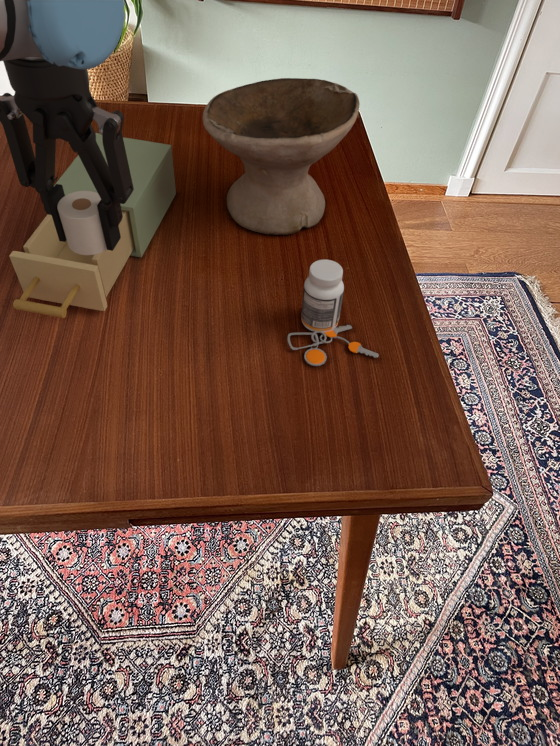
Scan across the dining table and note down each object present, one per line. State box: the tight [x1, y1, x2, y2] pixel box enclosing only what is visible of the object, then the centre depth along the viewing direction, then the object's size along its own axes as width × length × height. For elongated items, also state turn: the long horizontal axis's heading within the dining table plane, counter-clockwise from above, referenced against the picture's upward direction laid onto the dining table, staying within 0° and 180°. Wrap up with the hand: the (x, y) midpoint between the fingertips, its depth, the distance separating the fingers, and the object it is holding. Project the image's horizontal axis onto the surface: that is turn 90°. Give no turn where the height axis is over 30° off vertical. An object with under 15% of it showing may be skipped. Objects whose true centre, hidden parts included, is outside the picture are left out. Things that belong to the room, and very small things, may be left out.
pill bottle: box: [300, 259, 345, 333], centre depth 83 cm, size 6×6×10 cm
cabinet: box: [53, 132, 177, 258], centre depth 97 cm, size 19×14×10 cm
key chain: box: [287, 324, 380, 367], centre depth 84 cm, size 13×7×1 cm, turn 99°
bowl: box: [202, 77, 361, 236], centre depth 97 cm, size 26×25×20 cm
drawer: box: [8, 210, 135, 319], centre depth 86 cm, size 24×12×8 cm, turn 169°
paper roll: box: [57, 191, 107, 255], centre depth 71 cm, size 6×6×6 cm
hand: (90, 239), depth 73 cm, fingers closed on paper roll, 6 cm apart
